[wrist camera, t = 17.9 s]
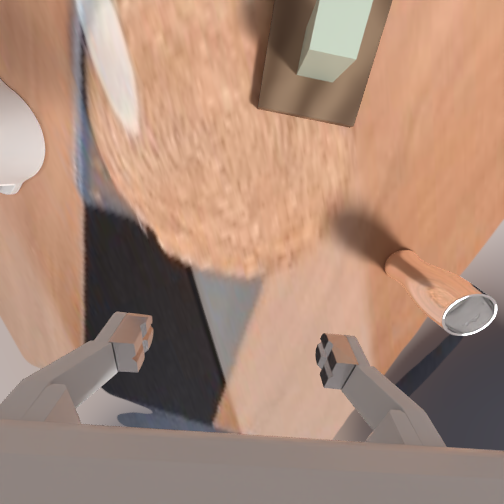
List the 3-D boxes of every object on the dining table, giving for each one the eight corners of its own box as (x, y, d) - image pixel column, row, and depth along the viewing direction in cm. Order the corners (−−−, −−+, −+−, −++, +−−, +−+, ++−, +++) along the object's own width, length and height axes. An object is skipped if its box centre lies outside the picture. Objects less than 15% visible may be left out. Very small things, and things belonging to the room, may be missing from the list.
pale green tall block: (296, 74, 31) (309, 49, 23) (306, 27, 29) (323, -18, 21) (332, 82, 31) (356, 59, 24) (344, 35, 29) (374, -6, 22)
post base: (257, 108, 34) (257, 100, 28) (278, -22, 28) (283, -61, 23) (349, 127, 34) (365, 122, 29) (387, 3, 29) (414, -29, 24)
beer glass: (375, 259, 43) (433, 309, 29) (413, 240, 41) (492, 282, 27) (389, 286, 45) (449, 345, 31) (425, 269, 43) (505, 322, 29)
